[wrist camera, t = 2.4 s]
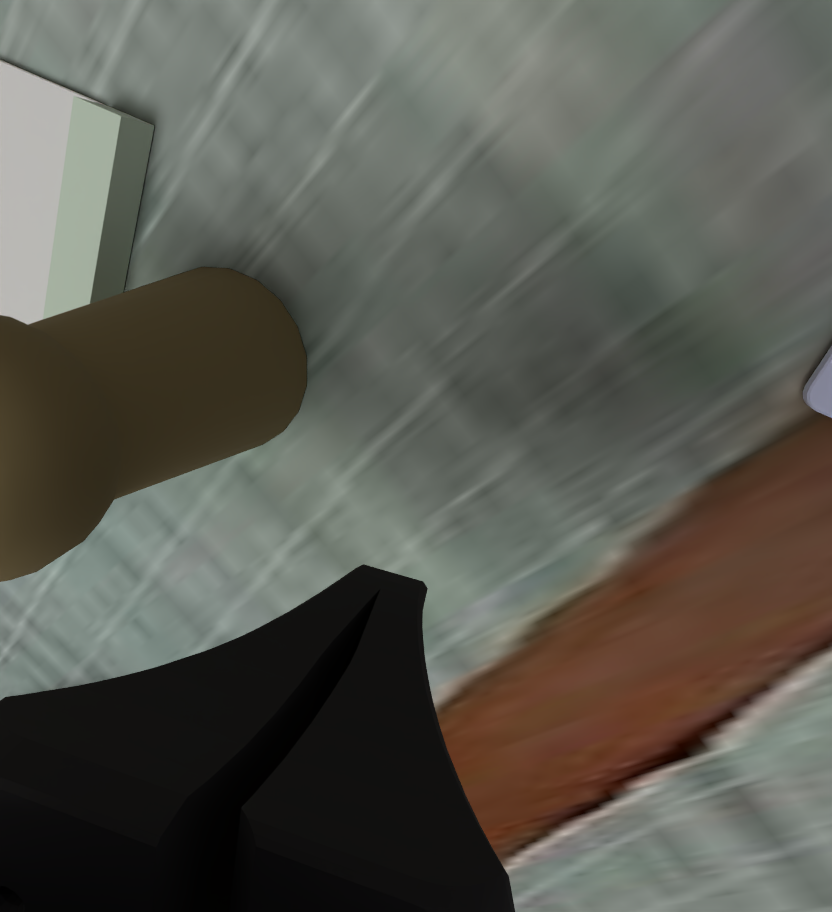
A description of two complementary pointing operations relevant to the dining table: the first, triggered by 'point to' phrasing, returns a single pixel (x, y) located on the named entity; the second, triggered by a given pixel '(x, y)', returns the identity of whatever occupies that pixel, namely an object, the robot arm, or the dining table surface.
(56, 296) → the kerb
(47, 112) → the mat
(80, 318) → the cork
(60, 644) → the dining table surface
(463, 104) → the dining table surface
